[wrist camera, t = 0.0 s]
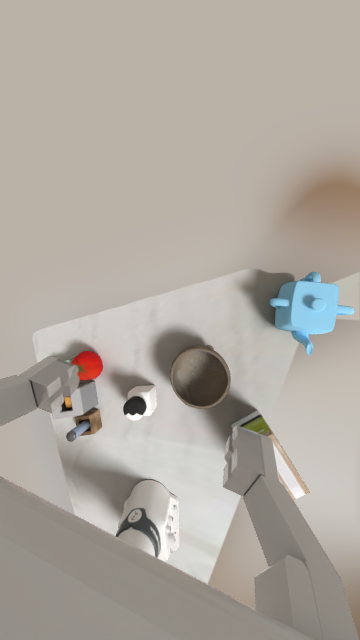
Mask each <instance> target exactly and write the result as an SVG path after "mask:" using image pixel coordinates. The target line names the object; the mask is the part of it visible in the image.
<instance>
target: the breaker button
mask: <svg viewBox="0 0 360 640" xmlns="http://www.w3.org/2000/svg"><path fill="white" fill-rule="evenodd" d="M65 403H66V408H68V407H72V402H71V396H68V397H65Z"/></svg>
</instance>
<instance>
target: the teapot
mask: <svg viewBox="0 0 360 640" xmlns="http://www.w3.org/2000/svg"><path fill="white" fill-rule="evenodd" d="M311 281H312V282H311ZM320 281H321V277H320V274H319V273H317V272H311V273H309V274H308V275H307V276H306V278H303V279H301V280H300V281H294V282H289V283H286V284H284V285H283V286H282V287H281V289H280V291H279V295H278V298H272V299H271V300H270V305H271V306H273V307H275V308H276V311H275V326H276V328H277V329H280V330H285V331H291V333H292V336H293V337H294V339H295V340H297V341H298V342H300V343H302V344H303V345H304V346H305V348H306V352H307V354H308V355H311V354H312V352H313V345H312V342H311V341H310V340H309V334H322V333H327V332H330V331H332V330H333V328H334V324H335V320H336V315H351V314H353V313H354V309H353V308H352V307H348V306H340V305H338V293H339V290H338V285H335V284H328V283H320Z"/></svg>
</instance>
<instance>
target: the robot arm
mask: <svg viewBox="0 0 360 640" xmlns="http://www.w3.org/2000/svg"><path fill="white" fill-rule="evenodd" d="M77 372H79V369H78V366H76V365H74V364H71V363H69V362H66V361H64V360H61V359H59V358H56V357H54V356H49V357H46V358H45V359H43V360H42V361H40V362H39V363H37V364H36V365H34V366H33V367H31V368H30V369H28V370H27V371H25V372H24V373H22V374H20V375H19V376H17V375H14V376H10V377H7V378H3V379H0V426H2V425H4V424H6V423H8V422H10V421H12V420H14V419H16V418H18V417H21V416H23V415H25V414H27V413H29V412H31V411H33V410H35V409H37V408H40V409H42V410H45V411H47V412H50V413H54V412H55V411H56V410H57V409H58V408H59V407H60V406H61V405H62V404H63V403H64V399H65V397H68V396H71V395H72V394H73V393H74V392H75V391H76V389H77V387H78V386H79V382H80V379H79V376H78V375H77ZM225 460H226V462H227V464H226V466H225V468H224V476H223V487H224V488H226V489H228V490H231V491H233V492H235V493H237V494H239V495H241V496H244V497H243V499H244V501H245V504H246V507H247V510H248V512H249V515H250V518H251V520H252V523H253V526H254V528H255V531H256V534H257V536H258V539H259V541H260V544H261V546H262V550H263V552H264V555H265V558H266V560H267V563H268V566H269V567H268V568H266V569H265V570H263V571H262V572H260V573H258V574H257V575H256V576H255V577H254V580H255V604H256V609H254V608H252V607H250V606H248V605H247V604H245V603H243V602H241V601H239V600H237V599H235V598H233V597H231V596H229V595H227V594H225V593H224V592H222V591H220V590H218V589H216V588H214V587H212V586H210V585H208V584H206V583H204V582H202V581H200V580H199V579H197V578H195V577H193V576H191V575H189V574H187V573H185V572H183V571H181V570H179V569H177V568H175V567H174V566H172V565H170V564H168V563H166V561H167V560H168V558H169V554H170V553H172V552H174V551H175V550H177V549H178V546H179V500H178V498H177V497H176V496H174V495H173V494H171V493H169V492H168V490H167V489H166V488H165V487H164V486H163V485H162V484H160V483H158V482H156V481H153V480H144V481H141V482H139V483H138V484H137V485H136V486H135V487H134V488H133V490H132V492H131V495H130V497H129V498H128V499H127V500H126V501H125V502H124V505H123V508H124V512H123V514H122V517H121V520H120V522H119V526H118V528H119V529H118V531H117V534H116V536H114V535H112V534H110V533H108V532H106V531H104V530H102V529H100V528H99V527H97V526H95V525H93V524H91V523H89V522H87V521H85V520H83V519H81V518H79V517H77V516H75V515H73V514H72V513H70V512H68V511H66V510H64V509H62V508H60V507H58V506H56V505H54V504H52V503H50V502H48V501H46V500H44V499H43V498H41V497H39V496H37V495H35V494H33V493H31V492H29V491H27V490H25V489H23V488H22V487H20V486H18V485H15V484H14V483H12V482H10V481H8V480H6V479H4V478H2V477H0V640H359V638H358V635H357V631H356V628H355V625H354V621H353V618H352V614H351V611H350V608H349V604H348V601H347V597H346V594H345V591H344V587H343V584H342V581H341V577H340V576H339V574H338V572H337V571H336V569H335V568H334V566H333V564H332V563H331V561H330V559H329V558H328V556H327V555H326V553H325V551H324V550H323V548H322V547H321V545H320V543H319V542H318V540H317V538H316V537H315V535H314V533H313V532H312V530H311V528H310V527H309V525H308V524H307V522H306V520H305V519H304V517H303V515H302V514H301V512H300V511H299V509H298V507H297V505H296V504H295V502H294V501H293V499H292V497H291V496H290V494H289V492H288V491H287V489H286V487H285V486H284V484H282V483H280V482H279V476H278V470H277V464H276V458H275V452H274V446H273V441H272V439H271V438H270V437H267V436H264V435H261V434H258V433H257V432H254V431H251V430H248V429H246V428H243V427H240V426H237V425H236V426H234V428H233V434H232V435H230V436H229V438H228V440H227V443H226V448H225Z"/></svg>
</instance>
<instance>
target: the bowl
mask: <svg viewBox="0 0 360 640" xmlns="http://www.w3.org/2000/svg"><path fill="white" fill-rule="evenodd" d="M213 349H214V348H213V347H212V346H209V345H208V346H206V347H204V346H192V347H189V348H187V349H185V350H183V351H182V352H181V353H180V354H179V355H178V356H177V357H176V358H175V360H174V362H173V364H172V367H171V372H170V380H171V384H172V387H173V390H174V392H175V393H176V395H177V396H178V397H179V398H180V399H181V401H183V402H184V403H185V404H186V405H188V406H190V407H193V408H198V409H206V408H210V407H213V406H215V405H217V404H218V403H220V402H221V401H222V400H223V399H224V397H225V396H226V394H227V392H228V390H229V387H230V381H231V377H230V371H229V368H228V366H227V364H226V362H225V361H224V359H223V358H222V357H221V356H220V355H219V354H218V353H217V352H215V351H214V350H213Z"/></svg>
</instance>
